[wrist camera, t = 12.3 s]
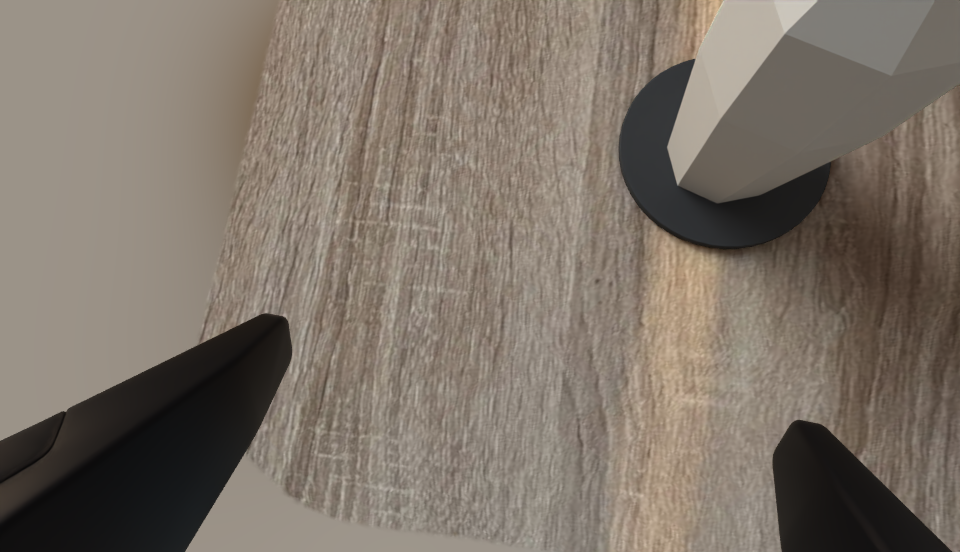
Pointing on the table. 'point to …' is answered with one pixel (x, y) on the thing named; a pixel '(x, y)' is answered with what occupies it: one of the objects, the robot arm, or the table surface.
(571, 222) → the table surface
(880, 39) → the faceted bottle
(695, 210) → the coaster
